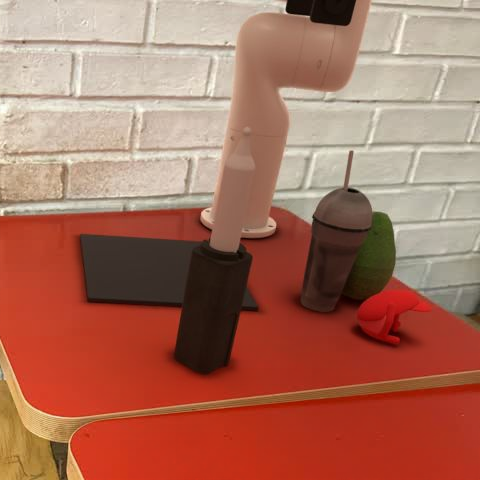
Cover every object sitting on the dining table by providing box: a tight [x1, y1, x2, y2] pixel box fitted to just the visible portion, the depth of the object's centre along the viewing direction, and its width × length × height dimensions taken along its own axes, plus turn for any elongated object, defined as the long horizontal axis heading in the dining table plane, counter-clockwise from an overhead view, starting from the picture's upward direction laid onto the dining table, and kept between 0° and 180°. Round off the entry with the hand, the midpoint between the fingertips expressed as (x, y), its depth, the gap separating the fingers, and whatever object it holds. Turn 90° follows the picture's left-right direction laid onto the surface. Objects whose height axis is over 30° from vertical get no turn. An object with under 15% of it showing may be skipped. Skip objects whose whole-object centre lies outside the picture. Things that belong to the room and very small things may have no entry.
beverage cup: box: [300, 149, 373, 313], centre depth 87 cm, size 7×7×20 cm
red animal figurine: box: [356, 289, 433, 345], centre depth 85 cm, size 8×6×6 cm
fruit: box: [341, 210, 397, 301], centre depth 92 cm, size 8×8×12 cm
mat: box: [79, 233, 259, 312], centre depth 97 cm, size 22×22×1 cm
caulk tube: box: [173, 127, 255, 375], centre depth 71 cm, size 5×5×25 cm
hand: (314, 19), depth 60 cm, fingers open, 9 cm apart
